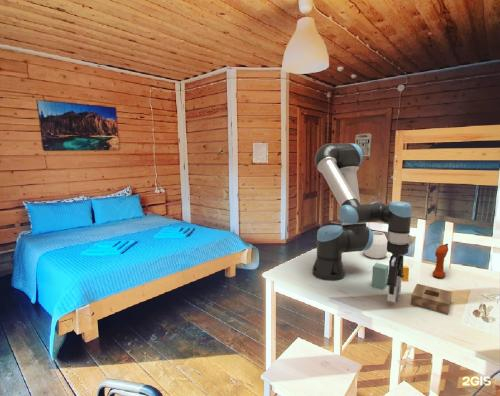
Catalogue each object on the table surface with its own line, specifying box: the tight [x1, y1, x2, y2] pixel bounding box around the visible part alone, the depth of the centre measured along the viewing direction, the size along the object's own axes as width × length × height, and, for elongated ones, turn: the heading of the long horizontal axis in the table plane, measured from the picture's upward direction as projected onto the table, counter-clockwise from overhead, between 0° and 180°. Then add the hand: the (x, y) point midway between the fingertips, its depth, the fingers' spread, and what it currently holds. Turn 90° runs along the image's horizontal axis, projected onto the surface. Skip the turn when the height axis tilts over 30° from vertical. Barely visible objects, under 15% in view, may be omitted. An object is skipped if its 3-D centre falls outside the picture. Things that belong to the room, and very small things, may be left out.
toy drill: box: [432, 243, 449, 279], centre depth 140 cm, size 5×19×15 cm, turn 137°
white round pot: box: [362, 230, 389, 260], centre depth 163 cm, size 13×13×14 cm
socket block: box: [410, 283, 453, 315], centre depth 113 cm, size 12×12×4 cm
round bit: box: [395, 275, 400, 303], centre depth 115 cm, size 3×3×10 cm
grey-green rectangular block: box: [371, 262, 389, 290], centre depth 128 cm, size 5×5×9 cm
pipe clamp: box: [400, 265, 410, 282], centre depth 138 cm, size 12×4×6 cm, turn 172°
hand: (394, 296), depth 116 cm, fingers open, 8 cm apart
